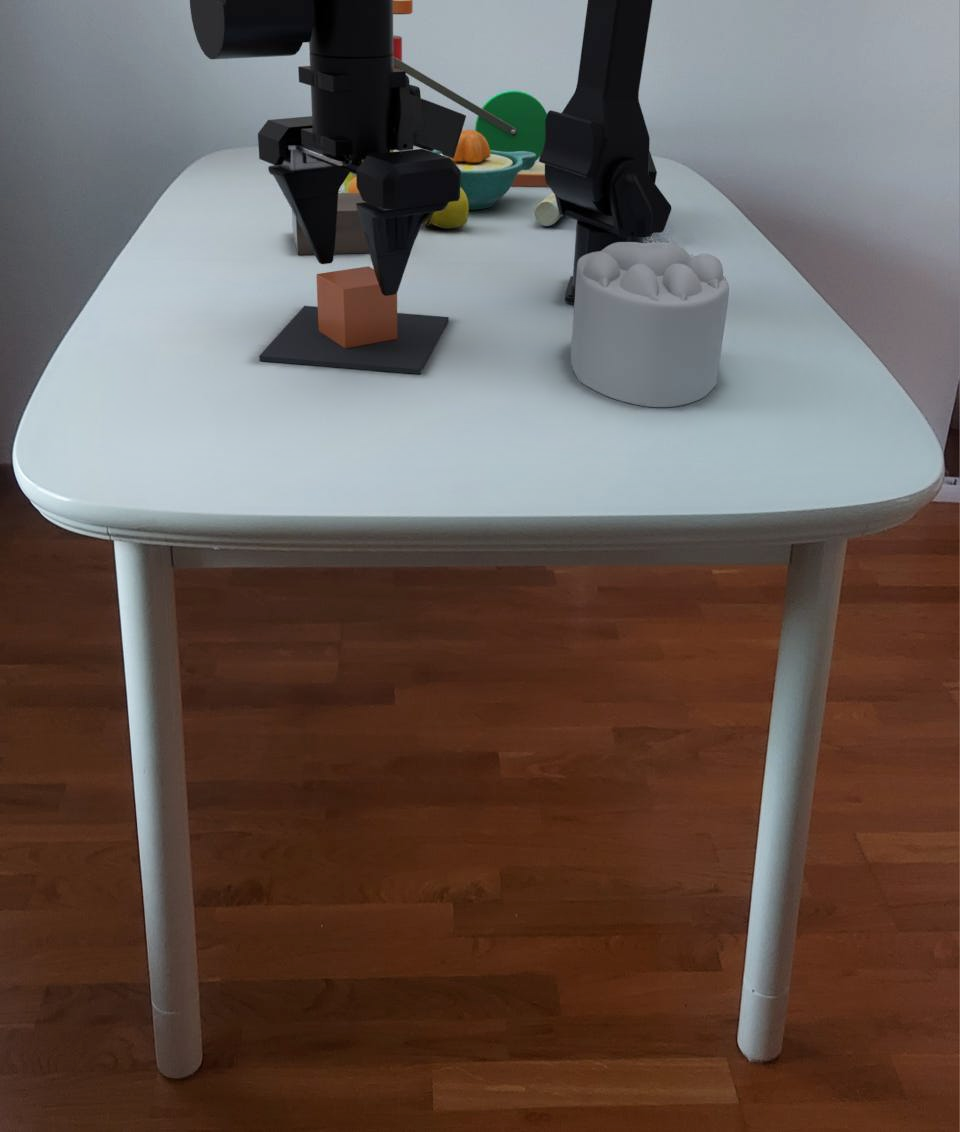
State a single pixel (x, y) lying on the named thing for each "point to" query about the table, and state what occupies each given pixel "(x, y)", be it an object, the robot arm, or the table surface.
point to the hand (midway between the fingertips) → (356, 278)
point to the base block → (338, 228)
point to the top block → (355, 308)
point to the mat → (398, 355)
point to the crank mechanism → (493, 114)
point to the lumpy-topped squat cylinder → (649, 323)
